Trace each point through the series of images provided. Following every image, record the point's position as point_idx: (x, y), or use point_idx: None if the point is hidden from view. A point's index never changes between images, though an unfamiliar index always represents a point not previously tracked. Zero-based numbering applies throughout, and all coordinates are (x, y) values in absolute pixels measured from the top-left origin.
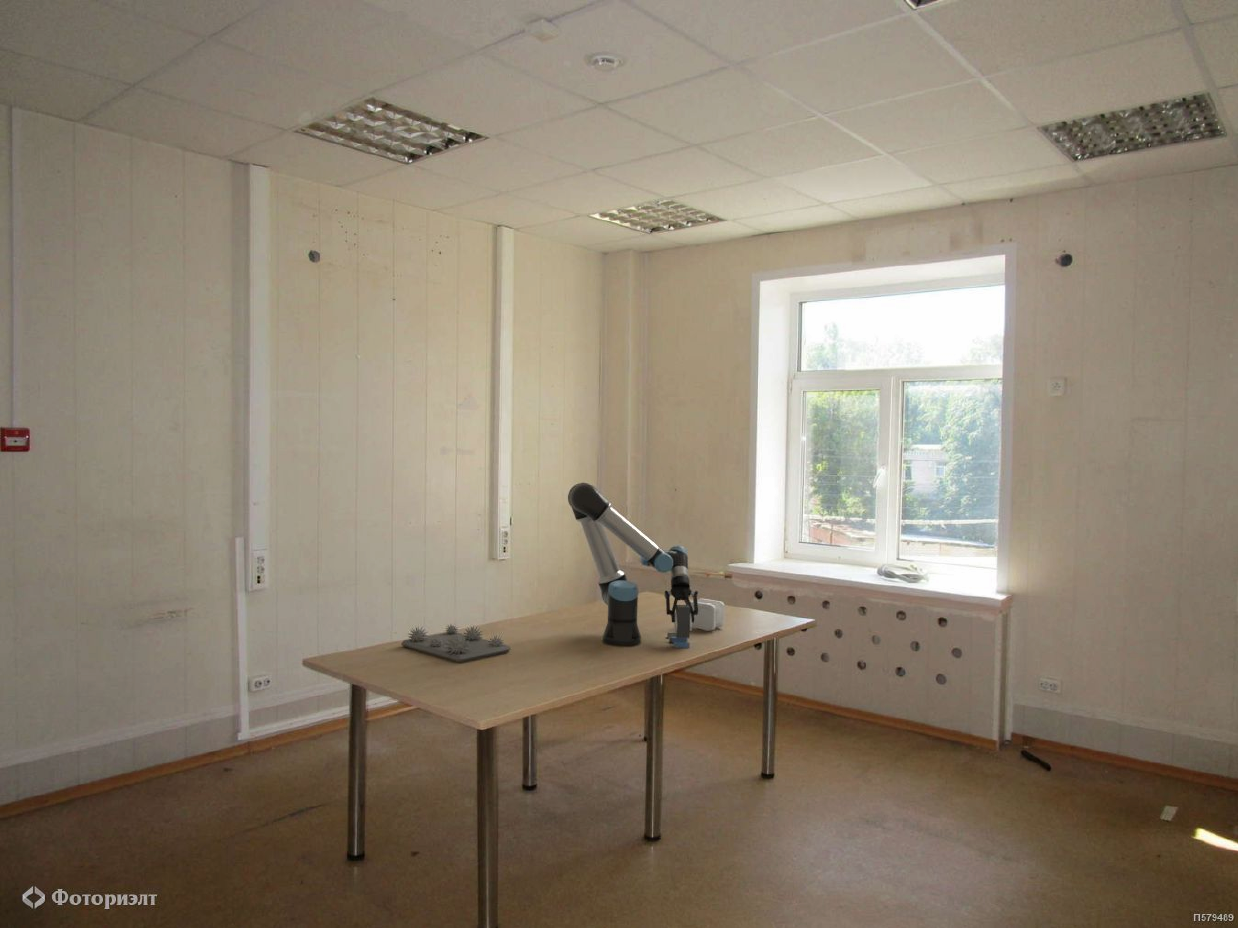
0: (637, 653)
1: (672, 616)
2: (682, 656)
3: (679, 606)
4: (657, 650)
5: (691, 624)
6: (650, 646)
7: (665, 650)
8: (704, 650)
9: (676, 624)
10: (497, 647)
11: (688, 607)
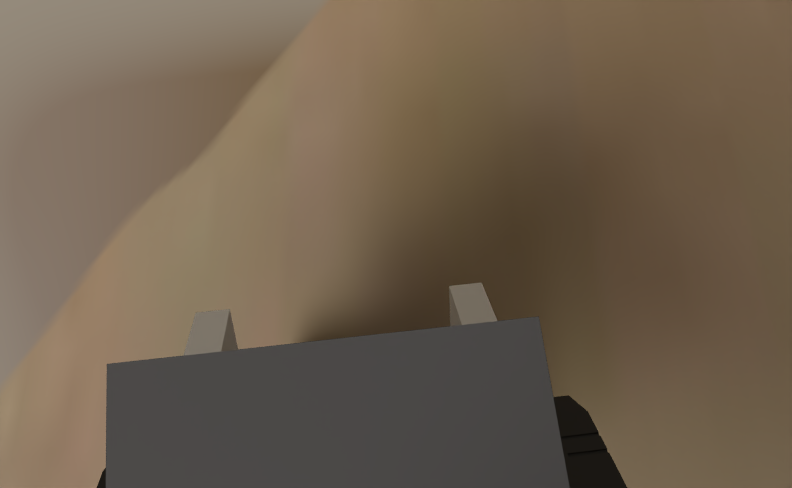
0: (789, 41)
1: (598, 468)
2: (365, 11)
3: (472, 460)
4: (623, 187)
5: (196, 344)
6: (726, 350)
7: (542, 202)
8: (121, 283)
9: (473, 309)
10: None
11: (163, 359)
